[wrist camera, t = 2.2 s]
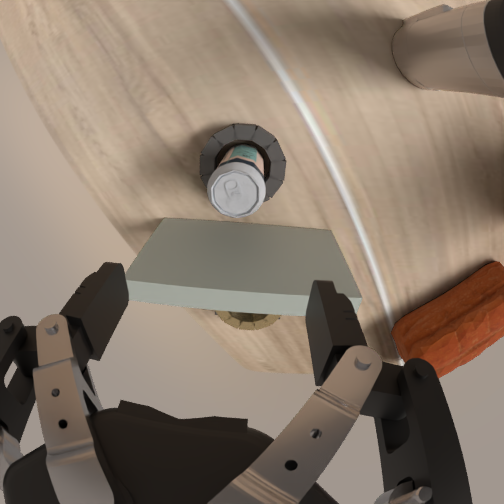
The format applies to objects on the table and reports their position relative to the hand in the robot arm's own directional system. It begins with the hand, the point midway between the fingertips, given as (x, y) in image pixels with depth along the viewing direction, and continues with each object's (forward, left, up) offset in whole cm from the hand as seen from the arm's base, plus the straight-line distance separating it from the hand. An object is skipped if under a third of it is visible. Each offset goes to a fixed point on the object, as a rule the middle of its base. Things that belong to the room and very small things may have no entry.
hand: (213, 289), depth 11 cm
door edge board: (+9, +1, -24) cm, 26 cm away
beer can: (0, 0, -24) cm, 24 cm away
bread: (+22, +42, -24) cm, 53 cm away
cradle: (0, 0, -24) cm, 24 cm away
